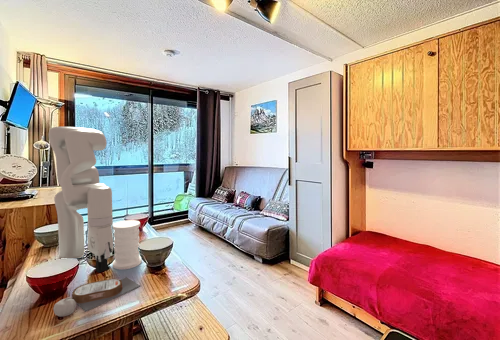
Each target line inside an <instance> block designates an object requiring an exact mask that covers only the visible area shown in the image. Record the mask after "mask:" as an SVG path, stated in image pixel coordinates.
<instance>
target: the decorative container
mask: <svg viewBox="0 0 500 340" xmlns="http://www.w3.org/2000/svg"><path fill="white" fill-rule="evenodd" d="M139 227H141V222H140V221H139V220H135V219H134V220H133V219H132V220H131V219H130V220H129V219H128V220H122V221H118V222H114V223H113V224H112V230H114V231H113V245H114V246H113V251H114V255H113V257H114V260H113V261H112V268H114V269H115V270H129V269H132V268H136V267H137V266H139V265H141V264H142V261H143V260H142V259H141V258H142V257H141V256H140V254H139V251H140V250H139V251H138V246H139V244H140V235H139V234H140V229H139ZM139 247H140V246H139Z"/></svg>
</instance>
